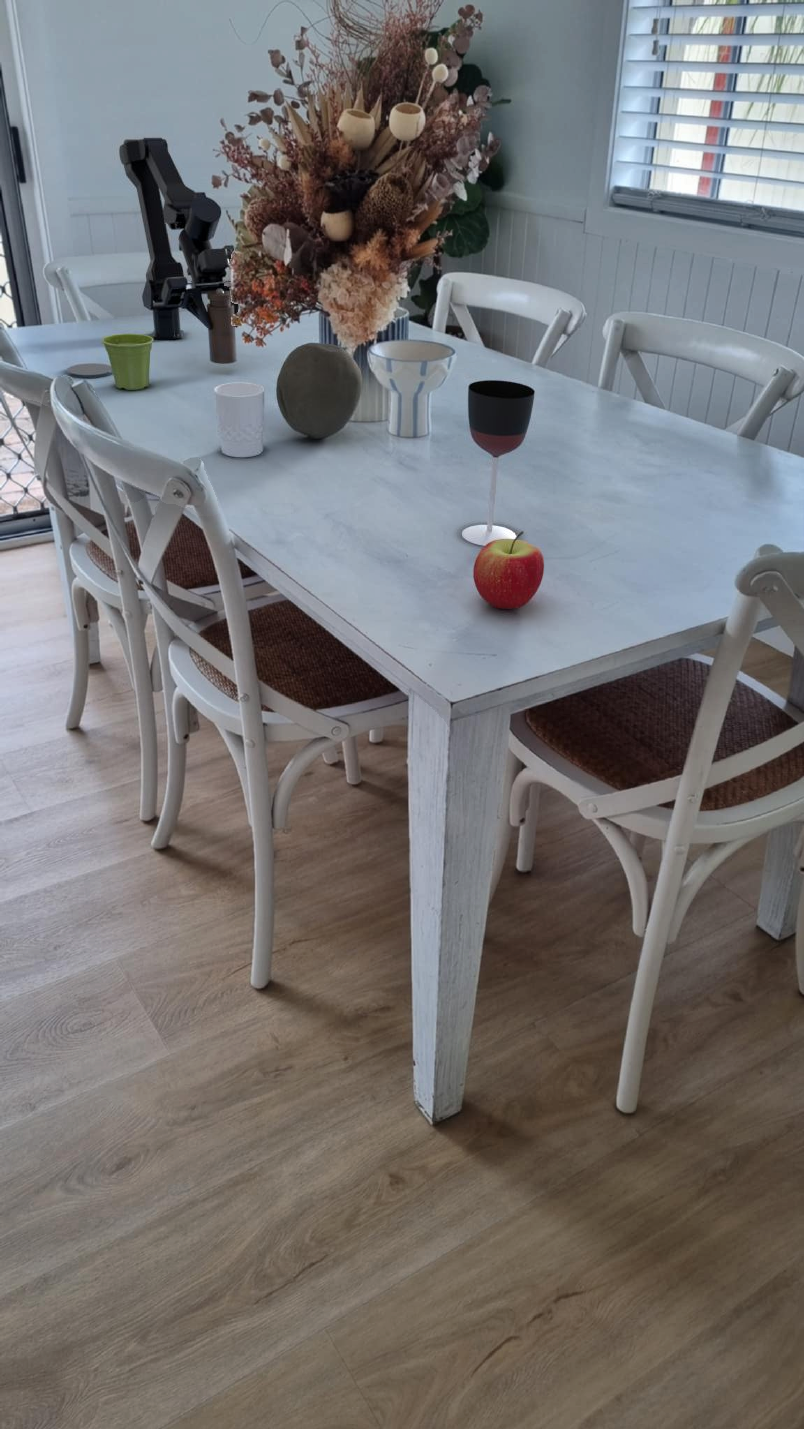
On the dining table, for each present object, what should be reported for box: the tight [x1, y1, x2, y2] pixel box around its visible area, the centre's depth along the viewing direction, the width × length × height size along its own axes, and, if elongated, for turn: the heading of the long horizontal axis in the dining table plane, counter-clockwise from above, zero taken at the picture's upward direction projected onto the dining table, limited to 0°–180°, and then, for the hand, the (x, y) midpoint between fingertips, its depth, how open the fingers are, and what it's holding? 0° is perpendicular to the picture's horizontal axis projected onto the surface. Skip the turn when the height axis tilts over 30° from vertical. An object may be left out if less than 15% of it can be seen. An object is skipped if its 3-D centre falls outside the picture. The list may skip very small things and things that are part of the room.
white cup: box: [213, 381, 265, 458], centre depth 170 cm, size 8×8×10 cm
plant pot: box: [101, 333, 155, 391], centre depth 199 cm, size 9×9×9 cm
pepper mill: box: [206, 288, 237, 365], centre depth 207 cm, size 5×5×14 cm
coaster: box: [66, 362, 113, 379], centre depth 209 cm, size 9×9×1 cm
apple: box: [472, 530, 545, 610], centre depth 126 cm, size 8×8×10 cm
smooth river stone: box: [275, 342, 363, 440], centre depth 176 cm, size 14×14×15 cm
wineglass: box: [461, 379, 536, 547], centre depth 141 cm, size 8×9×20 cm
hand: (224, 327), depth 206 cm, fingers closed on pepper mill, 5 cm apart
